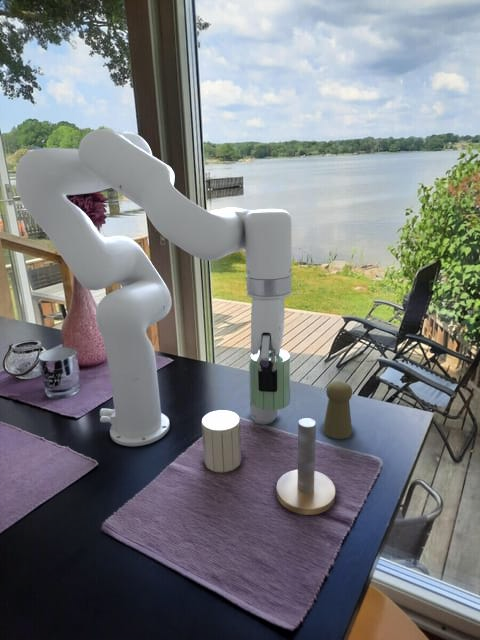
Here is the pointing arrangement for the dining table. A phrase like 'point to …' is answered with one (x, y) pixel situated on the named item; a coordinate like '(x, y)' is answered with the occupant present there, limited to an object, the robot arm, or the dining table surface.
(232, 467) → the cup
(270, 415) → the energy drink can
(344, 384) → the olive pawn figure
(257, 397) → the green grooved cylinder
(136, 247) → the robot arm
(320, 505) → the disc
